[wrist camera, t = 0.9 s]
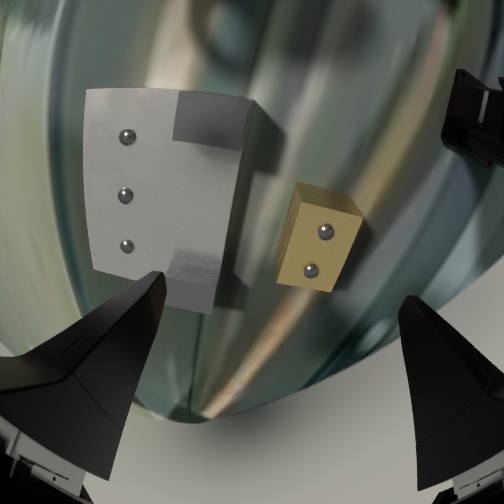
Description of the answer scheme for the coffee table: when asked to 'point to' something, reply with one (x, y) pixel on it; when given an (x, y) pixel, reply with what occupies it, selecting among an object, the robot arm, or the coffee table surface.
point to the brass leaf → (316, 237)
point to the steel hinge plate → (162, 185)
